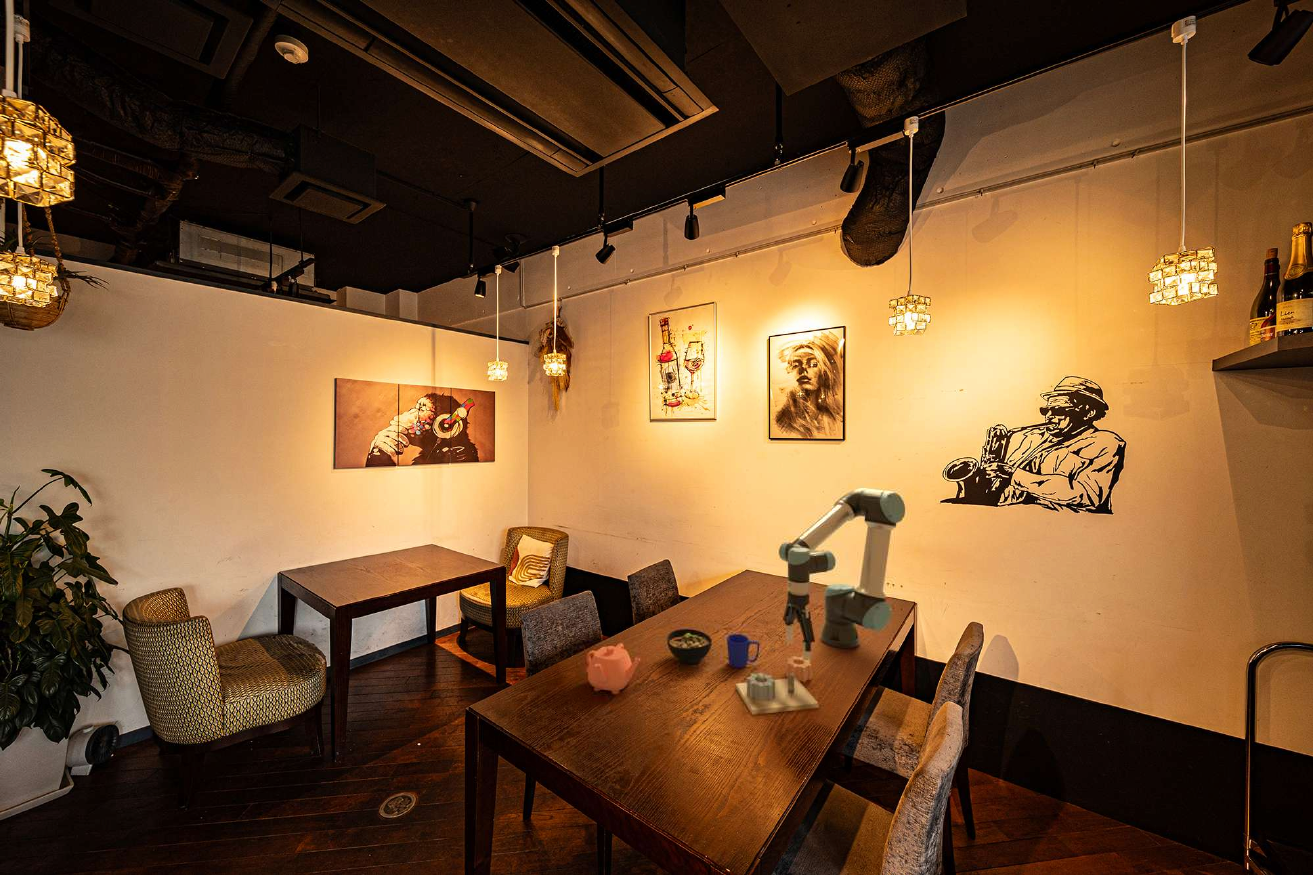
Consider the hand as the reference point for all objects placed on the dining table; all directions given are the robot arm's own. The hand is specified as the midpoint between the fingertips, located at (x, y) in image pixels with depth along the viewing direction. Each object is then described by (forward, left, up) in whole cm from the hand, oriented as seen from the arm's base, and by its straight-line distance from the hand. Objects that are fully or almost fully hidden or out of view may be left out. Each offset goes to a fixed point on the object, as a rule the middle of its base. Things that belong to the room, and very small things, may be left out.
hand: (797, 651), depth 175 cm
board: (+14, +12, -9) cm, 20 cm away
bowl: (+36, -18, -9) cm, 41 cm away
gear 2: (0, 0, -9) cm, 9 cm away
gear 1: (+19, +12, -8) cm, 23 cm away
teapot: (+67, -4, -9) cm, 67 cm away
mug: (+17, -11, -9) cm, 22 cm away
